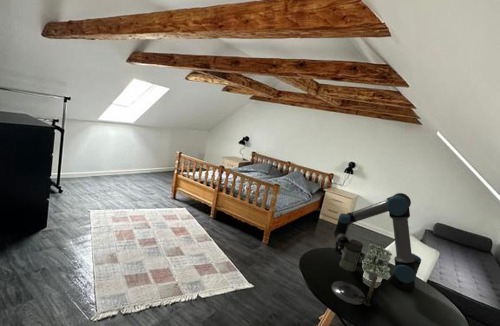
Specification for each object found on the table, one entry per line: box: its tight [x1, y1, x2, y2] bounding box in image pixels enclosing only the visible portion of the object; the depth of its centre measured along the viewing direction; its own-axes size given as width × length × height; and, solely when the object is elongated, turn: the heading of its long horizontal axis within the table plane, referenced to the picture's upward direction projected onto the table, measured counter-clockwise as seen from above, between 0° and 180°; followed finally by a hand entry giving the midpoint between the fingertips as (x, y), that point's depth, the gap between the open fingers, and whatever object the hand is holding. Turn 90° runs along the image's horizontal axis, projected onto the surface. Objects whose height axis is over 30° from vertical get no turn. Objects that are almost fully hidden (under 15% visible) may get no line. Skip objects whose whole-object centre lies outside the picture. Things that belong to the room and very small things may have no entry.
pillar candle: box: [349, 238, 364, 250], centre depth 212 cm, size 10×10×15 cm
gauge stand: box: [362, 271, 379, 308], centre depth 162 cm, size 5×4×19 cm
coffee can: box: [338, 243, 363, 272], centre depth 176 cm, size 10×10×14 cm
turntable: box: [331, 280, 366, 306], centre depth 171 cm, size 20×20×1 cm
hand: (352, 259), depth 172 cm, fingers closed on coffee can, 10 cm apart
